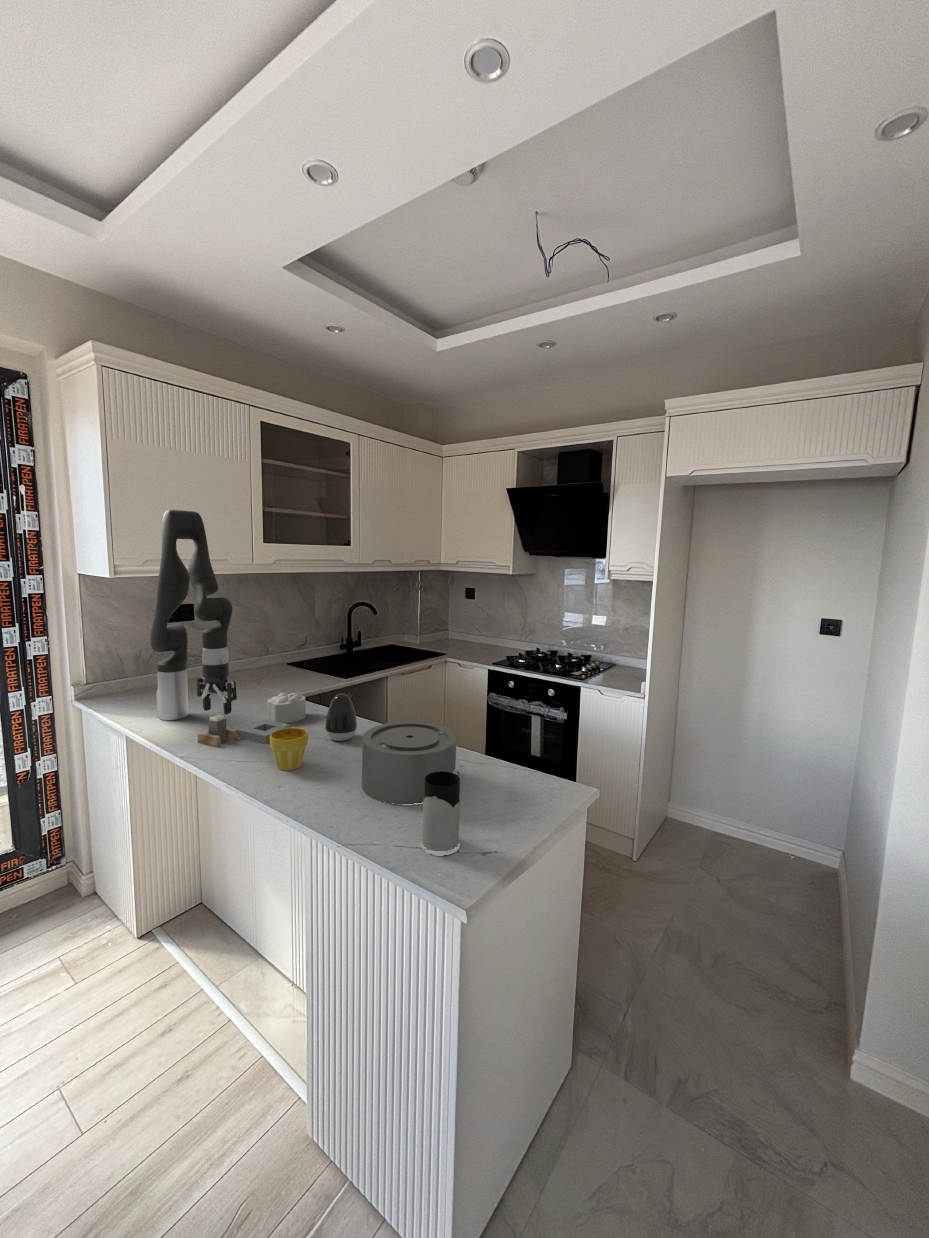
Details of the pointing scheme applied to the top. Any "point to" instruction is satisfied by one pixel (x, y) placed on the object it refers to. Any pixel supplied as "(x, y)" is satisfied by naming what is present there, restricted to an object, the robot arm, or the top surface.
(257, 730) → the port
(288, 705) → the white lumpy box
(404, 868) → the top surface
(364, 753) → the container
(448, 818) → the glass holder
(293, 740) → the plant pot
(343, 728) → the dark grey egg shape
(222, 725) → the plug
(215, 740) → the pair of wooden planks
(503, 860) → the top surface
